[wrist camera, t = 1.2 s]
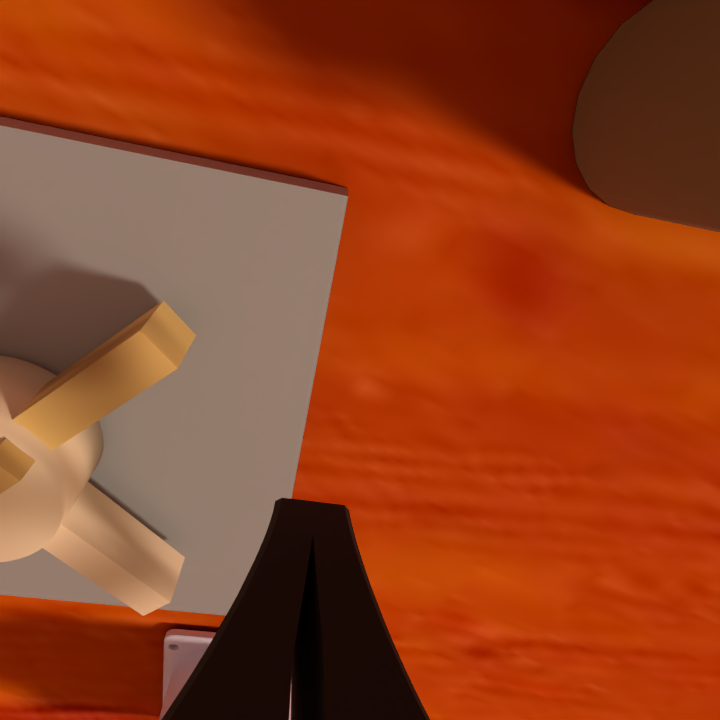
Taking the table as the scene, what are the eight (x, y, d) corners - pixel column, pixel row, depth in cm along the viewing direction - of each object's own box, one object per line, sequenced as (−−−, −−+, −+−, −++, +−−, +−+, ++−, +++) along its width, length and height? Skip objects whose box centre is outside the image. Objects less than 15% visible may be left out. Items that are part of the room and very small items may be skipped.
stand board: (271, 596, 25) (267, 625, 24) (-177, 552, 22) (-209, 582, 21) (347, 187, 15) (348, 198, 14) (-421, 29, 13) (-508, 24, 12)
